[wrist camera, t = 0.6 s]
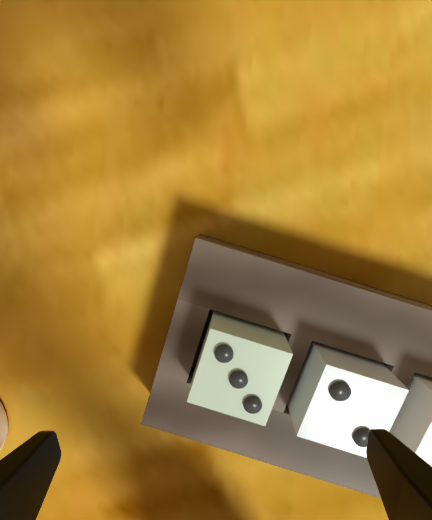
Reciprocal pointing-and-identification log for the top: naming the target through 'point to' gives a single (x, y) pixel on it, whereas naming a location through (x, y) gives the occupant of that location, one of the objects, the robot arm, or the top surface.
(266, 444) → the grey tray with tiles
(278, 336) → the tile three
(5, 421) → the teacup with lid
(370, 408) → the tile two
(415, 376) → the tile one
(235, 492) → the top surface
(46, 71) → the top surface
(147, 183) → the top surface
